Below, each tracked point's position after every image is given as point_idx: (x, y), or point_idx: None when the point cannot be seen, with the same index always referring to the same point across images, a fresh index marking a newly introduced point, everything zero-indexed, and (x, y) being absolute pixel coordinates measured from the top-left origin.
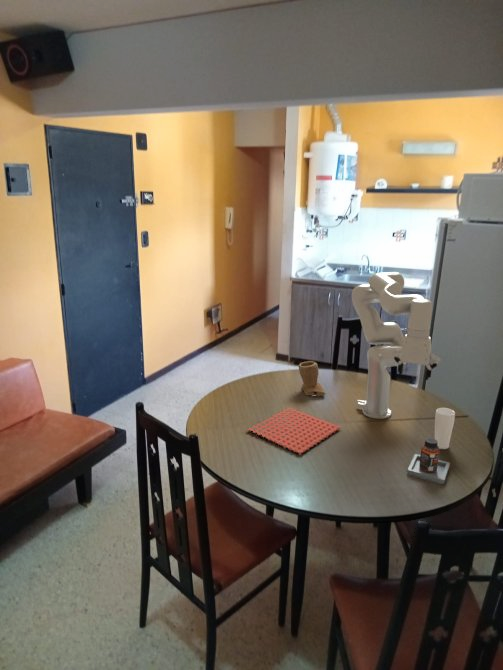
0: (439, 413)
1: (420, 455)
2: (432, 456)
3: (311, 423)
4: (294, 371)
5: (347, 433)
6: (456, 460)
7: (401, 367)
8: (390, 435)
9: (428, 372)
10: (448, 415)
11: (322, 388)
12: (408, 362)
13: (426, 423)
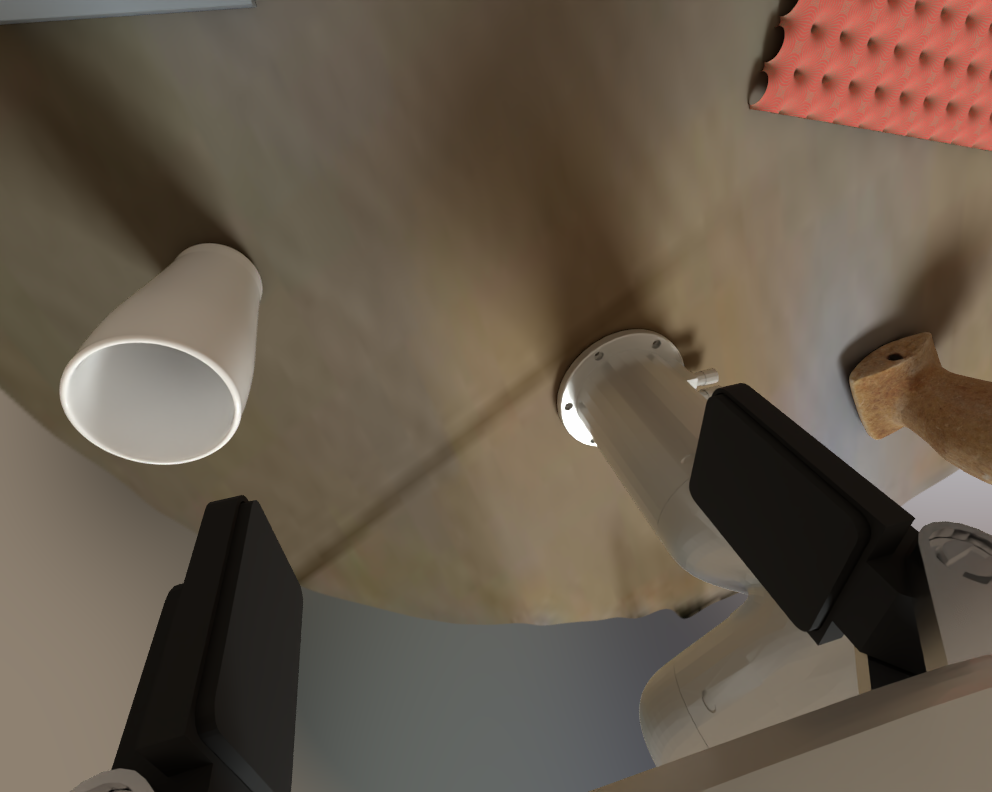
0: (170, 340)
1: (209, 1)
2: None
3: (918, 34)
4: (944, 470)
5: (708, 84)
6: (42, 169)
7: (829, 498)
8: (497, 221)
9: (181, 680)
10: (79, 352)
11: (865, 408)
12: (882, 707)
13: (396, 442)
